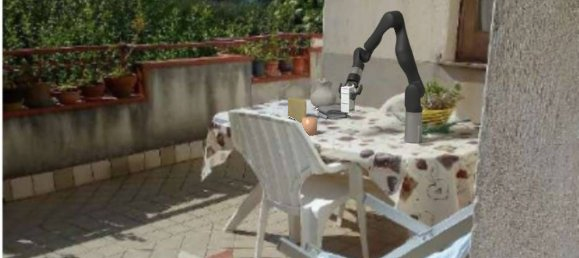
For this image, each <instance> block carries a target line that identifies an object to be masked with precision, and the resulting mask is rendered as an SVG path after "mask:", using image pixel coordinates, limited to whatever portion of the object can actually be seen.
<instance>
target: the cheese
mask: <svg viewBox="0 0 579 258" xmlns="http://www.w3.org/2000/svg"><path fill="white" fill-rule="evenodd" d="M288 116H290V117H292V118H294V119H296V120H297V121H296V120H295V121H296V122H298V121H299V122H298V123H301V122H302V117H307V100H305V99H303V98H302V97H301V96H291V97H287V117H288Z"/></svg>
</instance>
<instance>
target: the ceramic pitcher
mask: <svg viewBox="0 0 579 258" xmlns="http://www.w3.org/2000/svg"><path fill="white" fill-rule="evenodd" d="M313 82H314V85H315V90H314V91H313V92H311V94H310V98H309V99H310V103H311V105H312V106H314V107H315V109H316V108H319V107H321V106H331V105H336V102H337V95H336V94H335V92H334V91H333V90H332V85H333V83H334V81H333V80H331V79H327V77H326V75H322V79H321V78H317V79H315V80H314V81H313Z"/></svg>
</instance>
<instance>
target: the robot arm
mask: <svg viewBox="0 0 579 258" xmlns="http://www.w3.org/2000/svg"><path fill="white" fill-rule="evenodd" d="M406 28H407V27H406V23H405V18H404V16H403V14H402V12H401V11H400V10H390V11H389V10H388V11H387V12H384V13H383V16H382V17H381V18H380V19H379V22H378V24H377V25H376V27H375V28H374V30H373V32H372V33H371V35H370V36H369V37H368V38H367V40H366V41H365V42H364V43H363V47H361V46H359V47H356V48H355V49H354V51H353V53H352V54H353V56H352V57H353V58H352V66H351V68H350V70H349V72H348V76H347V77H346V81H345V83H341V82H340V83H339V85H338V89H337V90H338V91H337V92H338V93H339V96H338V97H339V99H340V100H341V87H345V86H353V87H355V89H354V93H353V96H352V100H353V101H354V100H356V98H357V96H360V95H361V93H362V92H363V89H364V86H363V84H362V83H361V84H360V82H361V80H362V76H363V72H364V69H365V65H366V64H367V63H369V61H370V60H371V57H372V55H373V53H374V51H375V50H376V49H377V48H378V46H380V44H381V42H382V40H383V36H384V35H385V33H386V32H388V30H390V29H393V30H394V34H395V45H394V46H395V47H394V53H395V57H396V60H397V63H398V66H399V67H400V68H401V70H402V71H403V73H404V74H405V76H406V78H407V83H408V85H406V87H405V90H404V108H405V117H404V118H405V119H404V135H403V136H404V137H403V138H404V139H403V140H404V142H405V143H408V144H409V143H410V144H420V143H421V142H423V122H422V121H423V106H422V104H421V102H422V101H421V99H422V98H423V97H424V95H425V93H426V87H425V85H424V82H423V81H422V77H421V76H420V72H419V71H418V66H417V63H416V60H415V56H414V51H413V49H412V46H411V43H410V39H409V36H408V32H407V29H406ZM357 89H358V90H357Z"/></svg>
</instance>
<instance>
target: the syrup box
mask: <svg viewBox="0 0 579 258" xmlns="http://www.w3.org/2000/svg"><path fill="white" fill-rule="evenodd" d="M354 89H355V87H353V86H344V87H341V99H340V106H341V112H347V113H348V114H349V113H353V112H355V111H356V109H355V106H356V105H355V103H356V102H355V100H356V99H355V100H354V101H353V100H352V96H353V93H354Z"/></svg>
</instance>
